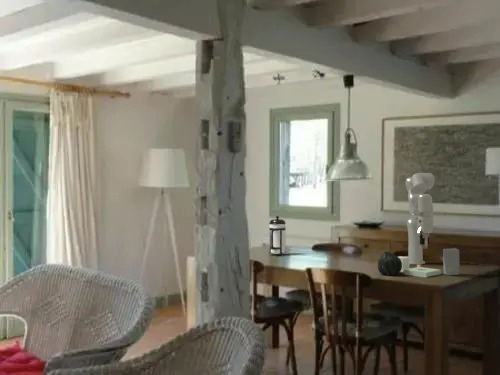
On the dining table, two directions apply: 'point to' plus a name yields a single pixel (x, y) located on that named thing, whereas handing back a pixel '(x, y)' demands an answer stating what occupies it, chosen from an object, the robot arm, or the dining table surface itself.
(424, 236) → the peg
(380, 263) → the squash
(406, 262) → the block
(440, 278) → the dining table surface
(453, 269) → the skincare box
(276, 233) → the coffee press
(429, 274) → the peg board
